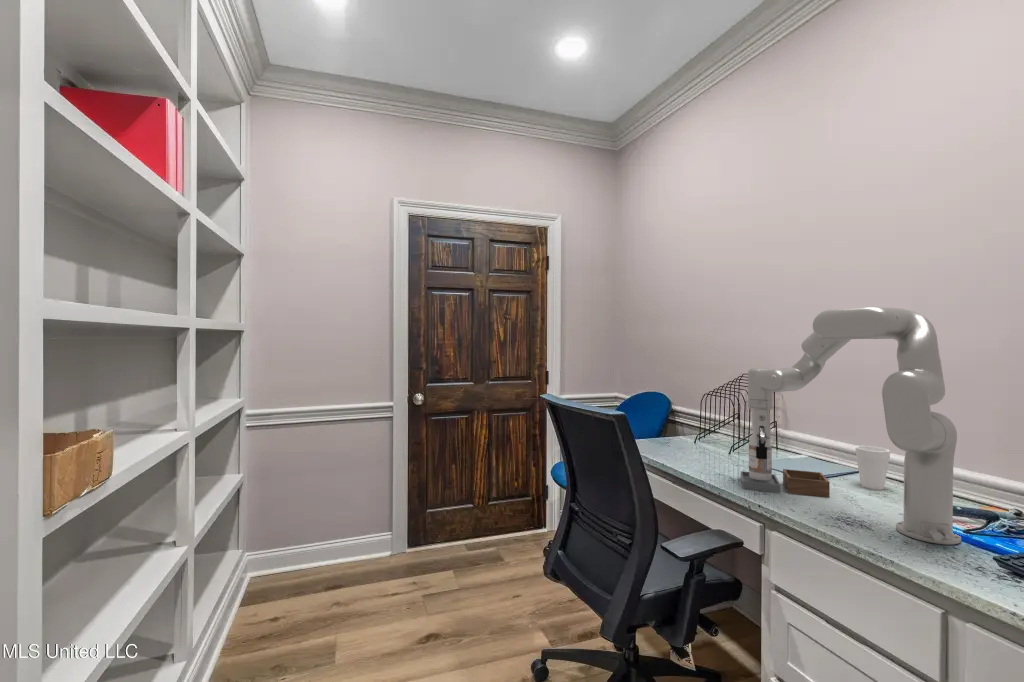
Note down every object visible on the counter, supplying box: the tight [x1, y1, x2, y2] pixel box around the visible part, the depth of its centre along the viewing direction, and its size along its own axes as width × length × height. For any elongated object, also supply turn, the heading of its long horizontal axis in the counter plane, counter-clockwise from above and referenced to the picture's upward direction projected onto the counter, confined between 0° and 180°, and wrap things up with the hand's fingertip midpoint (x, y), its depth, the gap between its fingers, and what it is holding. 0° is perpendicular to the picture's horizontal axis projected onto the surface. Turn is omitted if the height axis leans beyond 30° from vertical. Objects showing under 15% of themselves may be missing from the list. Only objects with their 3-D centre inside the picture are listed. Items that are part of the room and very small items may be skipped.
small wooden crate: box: [782, 468, 831, 498], centre depth 158 cm, size 11×11×5 cm
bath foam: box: [748, 429, 773, 481], centre depth 163 cm, size 7×7×20 cm
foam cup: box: [855, 445, 891, 491], centre depth 162 cm, size 10×9×13 cm
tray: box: [740, 470, 782, 494], centre depth 163 cm, size 13×11×3 cm
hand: (760, 455), depth 163 cm, fingers closed on bath foam, 7 cm apart
